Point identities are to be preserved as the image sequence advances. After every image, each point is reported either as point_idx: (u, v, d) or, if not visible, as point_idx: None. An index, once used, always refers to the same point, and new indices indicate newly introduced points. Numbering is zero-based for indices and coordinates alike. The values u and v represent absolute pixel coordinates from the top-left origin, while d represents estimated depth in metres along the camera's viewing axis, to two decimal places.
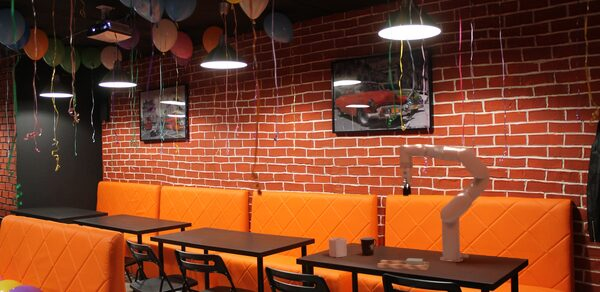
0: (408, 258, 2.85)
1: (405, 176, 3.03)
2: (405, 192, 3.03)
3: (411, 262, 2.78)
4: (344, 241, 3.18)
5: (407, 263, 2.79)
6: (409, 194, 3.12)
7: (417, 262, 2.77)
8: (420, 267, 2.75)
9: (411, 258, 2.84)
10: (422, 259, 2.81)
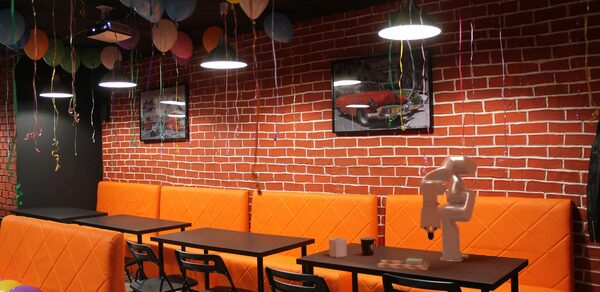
0: (408, 258, 2.85)
1: (440, 218, 2.76)
2: (433, 235, 2.77)
3: (411, 262, 2.78)
4: (344, 241, 3.18)
5: (407, 263, 2.79)
6: (430, 239, 2.78)
7: (417, 262, 2.77)
8: (420, 267, 2.75)
9: (411, 258, 2.84)
10: (422, 259, 2.81)
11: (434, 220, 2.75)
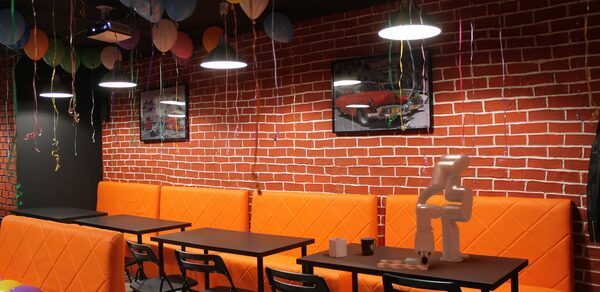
0: (407, 258, 2.85)
1: None
2: (427, 260, 2.79)
3: (410, 262, 2.78)
4: (344, 241, 3.18)
5: (406, 263, 2.79)
6: None
7: (415, 262, 2.77)
8: (420, 267, 2.75)
9: (410, 258, 2.84)
10: (421, 259, 2.81)
11: (428, 245, 2.76)
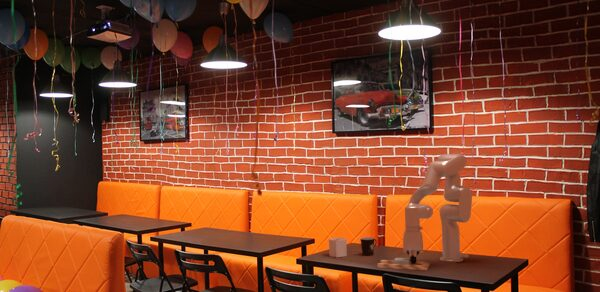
0: (396, 258, 2.86)
1: (422, 243, 2.80)
2: None
3: (399, 262, 2.80)
4: (344, 241, 3.18)
5: (395, 263, 2.81)
6: None
7: (404, 262, 2.79)
8: (420, 267, 2.75)
9: (399, 258, 2.86)
10: None
11: (416, 245, 2.78)
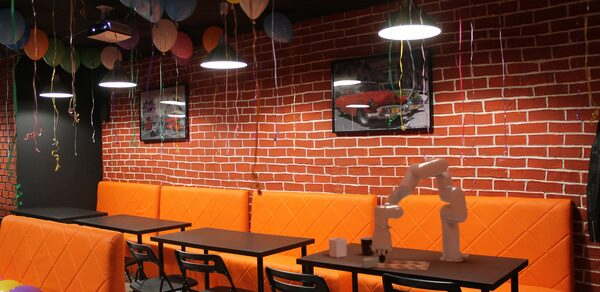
0: (365, 258, 2.92)
1: (391, 242, 2.85)
2: None
3: (368, 261, 2.85)
4: (344, 241, 3.18)
5: (365, 263, 2.86)
6: None
7: (374, 261, 2.85)
8: (420, 267, 2.75)
9: (368, 258, 2.92)
10: (378, 257, 2.89)
11: (385, 243, 2.84)
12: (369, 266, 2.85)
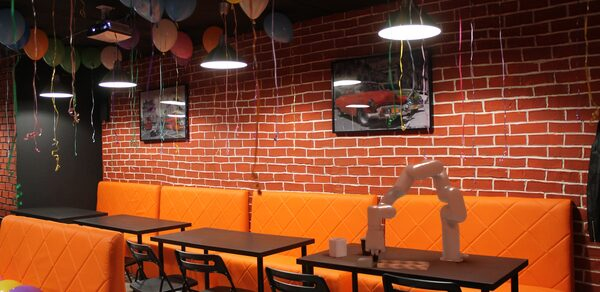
0: (360, 258, 2.94)
1: (384, 242, 2.87)
2: None
3: (362, 262, 2.88)
4: (344, 241, 3.18)
5: (358, 262, 2.89)
6: None
7: (367, 262, 2.87)
8: (420, 267, 2.75)
9: (363, 258, 2.94)
10: None
11: (378, 243, 2.85)
12: (362, 266, 2.88)
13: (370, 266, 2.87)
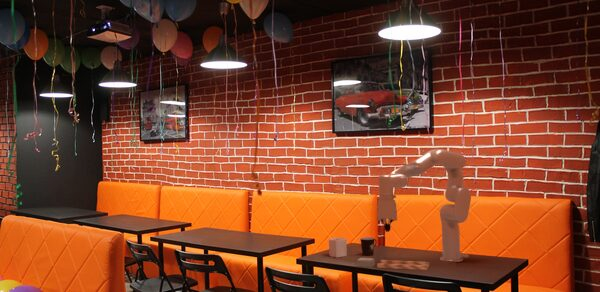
0: None
1: (396, 211, 2.86)
2: (390, 227, 2.87)
3: (361, 261, 2.88)
4: (344, 241, 3.18)
5: (358, 262, 2.89)
6: None
7: (367, 262, 2.87)
8: (420, 267, 2.75)
9: (363, 258, 2.94)
10: (373, 259, 2.91)
11: (390, 212, 2.84)
12: (362, 266, 2.88)
13: (370, 266, 2.86)
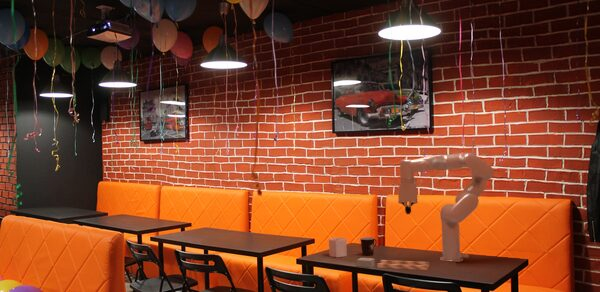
0: None
1: None
2: (410, 210, 2.97)
3: (361, 261, 2.88)
4: (344, 241, 3.18)
5: (358, 262, 2.89)
6: None
7: (366, 262, 2.87)
8: (420, 267, 2.75)
9: (364, 258, 2.94)
10: (373, 259, 2.90)
11: (411, 195, 2.95)
12: (361, 266, 2.88)
13: (369, 266, 2.86)
